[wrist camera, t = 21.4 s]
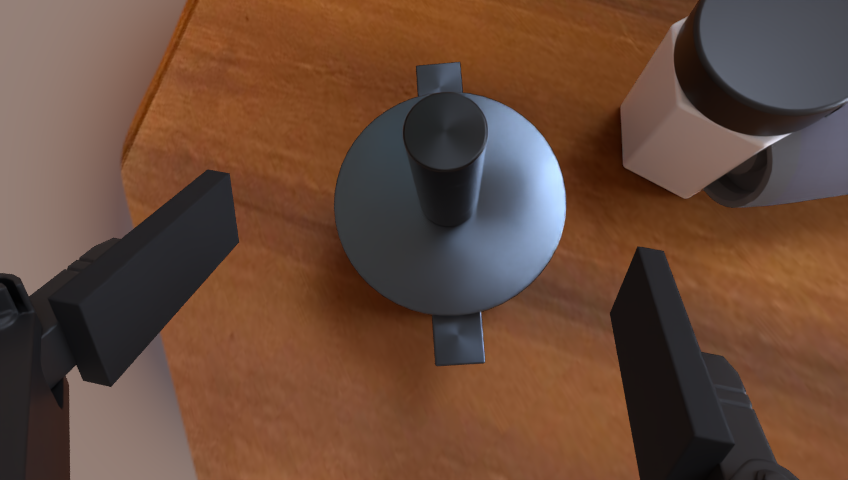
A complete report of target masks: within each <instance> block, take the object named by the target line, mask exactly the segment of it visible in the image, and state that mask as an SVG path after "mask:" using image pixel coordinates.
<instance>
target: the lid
mask: <svg viewBox="0 0 848 480" xmlns="http://www.w3.org/2000/svg"><path fill="white" fill-rule="evenodd" d="M334 212H335V222H336V227H337V231H338V235H339V238H340V241H341V244H342V246H343V249H344V251H345V253H346V255H347V257H348V258H349V260H350V262H351V264H352V265H353V266H354V268H355V269H356V271H357V272H358V273H359V275H360V276H361V277H362V278H363V279H364V280H365V281H366V282H367V283H368V284H369V285H370V286H371V287H372V288H374V289H375V290H376V291H377V292H379V293H380V294H381V295H382V296H384V297H386V298H387V299H389V300H391V301H393V302H394V303H396V304H398V305H400V306H403V307H405V308H407V309H410V310H413V311H416V312H420V313H424V314H428V315H436V316H463V315H471V314H475V313H479V312H483V311H486V310H489V309H492V308H494V307H496V306H499V305H501V304H503V303H505V302H507V301H508V300H510V299H512V298H513V297H515V296H517V295H518V294H519V293H520V292H522V291H523V290H524V289H526V288H527V287H528V286H529V285H530V284H531V283H532V282H533V281H534V280H535V279H536V278H537V277H538V276H539V275H540V274H541V272H542V271H543V270H544V268H545V267H546V266H547V264H548V263H549V261H550V260H551V258H552V256H553V254H554V252H555V250H556V249H557V246H558V243H559V241H560V238H561V235H562V231H563V227H564V223H565V215H566V189H565V184H564V179H563V175H562V172H561V169H560V166H559V163H558V160H557V158H556V156H555V154H554V152H553V150H552V148H551V147H550V145H549V144H548V142H547V141H546V139H545V138H544V137H543V135H542V134H541V133H540V132H539V131H538V130H537V129H536V127H535V126H534V125H533V124H532V123H530V122H529V121H528V120H527V119H526V118H525V117H523V116H522V115H521V114H519V113H518V112H516V111H515V110H513V109H512V108H510V107H508V106H506V105H504V104H502V103H500V102H498V101H496V100H493V99H490V98H487V97H484V96H480V95H475V94H471V93H462V92H439V93H432V94H426V95H422V96H419V97H415V98H412V99H409V100H407V101H404V102H402V103H399V104H398V105H396V106H394V107H392V108H390V109H389V110H387V111H385V112H384V113H383V114H381V115H380V116H379V117H377V118H376V119H374V120H373V121H372V122H371V123H370V124H369V125H368V126H367V127H366V128H365V129H364V130H363V131H362V133H361V134H360V135H359V136H358V137H357V139H356V140H355V141H354V143H353V144H352V146H351V148H350V149H349V151H348V152H347V154H346V157H345V159H344V161H343V163H342V165H341V168H340V172H339V175H338V178H337V183H336V188H335V197H334Z"/></svg>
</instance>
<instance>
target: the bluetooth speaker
mask: <svg viewBox="0 0 848 480" xmlns="http://www.w3.org/2000/svg"><path fill="white" fill-rule="evenodd" d="M704 191H705V192H706V193H707V194H708V195H709V196H710V197H711V198H712V199H713V200H714V201H716V202H717V203H719V204H721V205H723V206H726V207H731V208H738V207H755V206H769V205H778V204H787V203H794V202H801V201H807V200H814V199H821V198H827V197H834V196H841V195H847V194H848V102H847V103H846V105H845V106H843V107H842V108H840V109H839V110H837V111H835V112H834V113H832V114H831V115H830V116H828V117H826V118H825V117H823V118H822V119H820V120H818V121H817V122H815V123H814V124H812V125H810V126H808V127H806V128H804V129H802V130H799V131H796V132H793V133H792V134H790V135H788V136H786V137H784V138H783V139H781V140H779V141H777V142H776V143H774V144H772V145H770V146H769V147H767V150H765V151H763V152H762V153H760V154H758V155H756V156H755V157H753V158H752V159H750V160H749V161H747V162H746V163H744V164H742V165H741V166H739V167H738V168H736V169H735V170H733V171H732V172H730V174H729V175H727V176H725V177H723V178H721V179H720V180H718V181H716V182H714V183H712V184H711V185H709V186H707V187H705V188H704Z"/></svg>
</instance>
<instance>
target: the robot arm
mask: <svg viewBox="0 0 848 480" xmlns="http://www.w3.org/2000/svg"><path fill="white" fill-rule="evenodd" d="M238 243H239V238H238V231H237V224H236V217H235V209H234V202H233V195H232V188H231V180H230V173H224V172H219V171H213V170H206V171H205V172H204V173H203V174H201V175H200V176H199V177H198V178H196V179H195V180H194V181H193V182H191V183H190V184H189V185H188V186H186V187H185V188H184V189H183V190H182V191H180V192H179V193H178V194H177V195H175V196H174V197H173V198H172V199H170V200H169V201H168V202H167V203H165V204H164V205H163V206H162V207H160V208H159V209H158V210H157V211H155V212H154V213H153V214H152V215H150V216H149V217H148V218H147V219H145V220H144V221H143V222H142V223H140V224H139V225H138V226H137V227H135V228H134V229H133V230H132V231H131V232H129V233H128V234H127V235H125V236H124V237H123V238H122V239H117V238H112V239H110V240H108V241H105V242H103V243H101V244H98V245H96V246H94V247H93V248H91V249H90V250H89V251H88V252H86V253H85V254H84V255H82V256H81V257H80V259H79V260H76V261H75V262H73V263H72V264H71V265H69V266H68V268H67V270H66V269H65V270H63V271H62V272H60V273H59V274H58V275H56V276H55V277H54V278H53V279H51V280H50V281H49V282H47V283H46V284H45V285H43V286H42V287H41V288H40V289H38V290H37V291H36V292H34V293H33V294H32V295H30V296H28V294H27V292H26V290H25V288H24V285H23V283H22V281H21V279H20V278H19V277H17V276H15V275H12V274H5V273H0V480H70V444H69V443H70V440H69V439H70V438H69V436H70V435H69V384H68V381H67V378H66V376H65V375H66V374H67V373H68V372H69V371H70V370H71V369H72V368H73V367H74V366H75V365H77V367H78V369H79V372H80V374H81V377H82V379H83V381H87V382H92V383H96V384H101V385H105V386H109V387H111V386H112V385H113V384H114V383H115V382H116V381H117V380H118V379H119V377H120V376H121V375H122V374H123V373H124V372H125V371H126V369H127V368H128V367H129V366H130V365H131V364H132V363H133V362H134V360H135V359H136V358H137V357H138V356H139V355H140V354H141V353H142V351H143V350H144V349H145V348H146V347H147V346H148V345H149V343H150V342H151V341H152V340H153V339H154V338H155V337H156V336H157V334H158V333H159V332H160V331H161V330H162V329H163V328H164V326H165V325H166V324H167V323H168V322H169V321H170V320H171V319H172V317H173V316H174V315H175V314H176V313H177V312H178V311H179V309H180V308H181V307H182V306H183V305H184V304H185V303H186V302H187V300H188V299H189V298H190V297H191V296H192V295H193V294H194V292H195V291H196V290H197V289H198V288H199V287H200V286H201V285H202V283H203V282H204V281H205V280H206V279H207V278H208V277H209V276H210V274H211V273H212V272H213V271H214V270H215V269H216V268H217V266H218V265H219V264H220V263H221V262H222V261H223V260H224V259H225V257H226V256H227V255H228V254H229V253H230V252H231V251H232V249H233V248H234V247H235V246H236V245H237V244H238ZM610 317H611V322H612V328H613V333H614V339H615V344H616V349H617V355H618V360H619V366H620V371H621V377H622V382H623V388H624V393H625V399H626V404H627V410H628V415H629V421H630V426H631V432H632V437H633V443H634V448H635V454H636V459H637V465H638V470H639V476H640V480H799V479H798V478H797V477H796V476H794V475H793V474H792V473H791V472H790V471H789V470H787V469H785V468H784V467H782V466H780V465H778V464H777V462H776V460H775V457H774V455H773V453H772V450H771V448H770V446H769V443H768V441H767V439H766V436H765V434H764V432H763V430H762V427H761V425H760V423H759V420H758V418H757V416H756V413H755V411H754V409H752V404H751V402H750V400H749V397H748V395H746V394H745V392H746V390H745V388H744V386H743V383H742V381H741V379H740V377H739V374H738V373H737V372H736V370H735V369H734V368H733V367H732V366H731V365H730V364H729V363H728V361H727V360H726V359H725V358H724V357H723V356H719V355H714V354H709V353H704V352H701V350H700V348H699V345H698V342H697V340H696V337H695V334H694V331H693V329H692V326H691V323H690V321H689V318H688V315H687V313H686V310H685V307H684V305H683V302H682V299H681V296H680V294H679V291H678V288H677V286H676V283H675V280H674V278H673V275H672V272H671V270H670V267H669V264H668V261H667V259H666V256H665V253H664V251H661V250H655V249H650V248H644V247H637V249H636V252H635V254H634V256H633V259H632V261H631V264H630V266H629V269H628V271H627V273H626V276H625V278H624V281H623V283H622V285H621V288H620V290H619V293H618V295H617V298H616V300H615V302H614V305H613V307H612V310H611V312H610Z"/></svg>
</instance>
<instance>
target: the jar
mask: <svg viewBox="0 0 848 480" xmlns="http://www.w3.org/2000/svg"><path fill="white" fill-rule="evenodd" d="M847 102H848V0H699V1H698V3H697V4H696V6H695V7H694V9H693V10H692V12H691V13H690V15H689V16H687V17H686V18H684V19H682V20H680V21H678V22H676V23H674V24H673V25H672V26H671V28H670V29H669V31H668V32H667V34H666V35H665V37H664V38H663V40H662V42H661V43H660V45H659V46H658V48H657V49H656V51H655V52H654V54H653V56H652V57H651V59H650V60H649V62H648V63H647V65H646V67H645V68H644V70H643V71H642V73H641V74H640V76H639V77H638V79H637V81H636V82H635V84H634V85H633V87H632V88H631V90H630V91H629V93H628V95H627V96H626V98H625V99H624V101H623V102H622V104H621V106H620V110H621V132H622V154H623V166H624V167H625V168H626V169H628V170H630V171H632V172H634V173H636V174H638V175H640V176H642V177H644V178H645V179H647V180H649V181H651V182H653V183H655V184H657V185H659V186H661V187H663V188H665V189H667V190H668V191H670V192H672V193H674V194H676V195H678V196H680V197H682V198H684V199H687V198H689V197H691V196H693V195H695V194H697V193H698V192H700V191H702V190H704V188H705V187H707V186H709V185H711V184H712V183H714V182H716V181H718V180H720V179H721V178H723V177H725V176H727V175H729V174H730V172H732V171H733V170H735V169H736V168H738V167H739V166H741V165H742V164H744V163H746V162H747V161H749V160H750V159H752V158H753V157H755V156H756V155H758V154H760V153H762V152H763V151H765V150H767V147H769V146H770V145H772V144H774V143H776V142H777V141H779V140H781V139H783V138H784V137H786V136H788V135H790V134H792V133H793V132H796V131H799V130H802V129H804V128H806V127H808V126H810V125H812V124H814V123H815V122H817V121H818V120H820V119H822V118H823V117H825V118H826V117H828V116H830V115H831V114H832V113H834V112H835V111H837V110H839V109H840V108H842V107H843V106H845V105H846V103H847Z"/></svg>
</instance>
